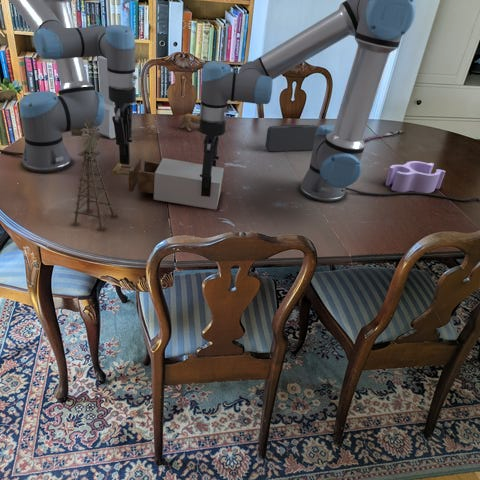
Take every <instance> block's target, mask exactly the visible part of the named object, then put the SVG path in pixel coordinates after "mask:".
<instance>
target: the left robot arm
mask: <svg viewBox="0 0 480 480" xmlns="http://www.w3.org/2000/svg"><path fill="white" fill-rule="evenodd" d="M9 1H10V3H11V4H12V6H13V7H14V9H16V11H17V12H18V13H19V15H20V16H21V18H22V19H23V20H24V22H25V23H26V24H27V26H28V27H29V28H30V30H31V31H32V32H33V35H32V40H33V45H34V49H35V50H36V54H37V56H38V57H39V58H41V59H43V60H53V61H55V65H56V68H57V69H56V70H57V73H58V77H59V81H60V86H59V88H58V90H57V92H58V94H57V93H56V92H54V91H49V90H46V91H44V90H41V91H35V92H31V93H28V94H26V95H24V96H23V97H21V99H20V100H19V103H18V104H19V116H20V119H21V125H22V132H23V137H24V148H23V152H15V151H14V152H13V151H7V150H3V149H0V153H3V154H7V155H13V156H22V158H21V161H22V166H23V168H24V169H25V170H27V171H29V172H33V173H39V174H46V173H56V172H61V171H63V170H66V169H67V168H69V167H70V166H71V163H72V159H71V155H70V153H69V151H68V150H67V149H68V148H67V147H66V145H65V143H64V140H63V133H67V132H71V127H73V128H77V129H80V130H81V131H82V130H83V128H85V129H86V130H88V129H89V127H90V122H91V126H92V127H93V128H95V127H96V126H97V124H98V123H99V125H101V124H102V122H103V120H104V116H105V104H104V100H103V97H102V95H101V94H100V91H97V90H95V87H94V85H93V84H92V83H90V82H89V80H88V76H87V72H86V68H85V64H84V60H83V58H92V57H98V56H103V57H104V58H106V59H107V74H108V84H109V85H110V86H109V87H108V91H109V99H110V100H111V101H112V102H114V103H115V104H116V105H115V108H114V113H115V116H113V117H112V120H113V123H114V129H115V144H116V146H118V151H119V152H118V154H119V155H118V156H119V163H120V164H122V165H126V166H130V164H131V163H130V162H131V155H130V152H131V151H130V143H133V139H131V138H132V124H133V111H134V110H133V108H134V105H133V104H131V103H135V101H136V100H137V89H136V80H138V75H136V40H135V31H134V29H133V28H132V27H131V26H128V25H123V24H110V25H107V26H104V25H102V24H97V23H94V24H90V25H88V26H87V27H84V26H83V27H76V26H75V22H74V17H73V12H72V9H71V3H72V2H73V0H9ZM92 116H93V120H92ZM89 117H90V118H89ZM94 118H95V121H94ZM87 119H88V123H89V126H88V123H87ZM96 120H97V122H96ZM93 122H94V125H95V123H96V125H95V127H94V125H93ZM85 123H86V125H87V127H88V129H87V128H86V126H85ZM99 125H98V126H99Z"/></svg>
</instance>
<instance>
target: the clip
mask: <svg viewBox="0 0 480 480" xmlns="http://www.w3.org/2000/svg"><path fill="white" fill-rule="evenodd" d="M434 165H435V163H434V162H429V163H428V162H424V161H417V160H411V161H406V163H405V164H392V165H390V166H389V170H388V174H387V177H386V181H385V186H387V187H389V186H390V185H392V186H391V191H393V192H421V193H429V194H432V193H434V191H435V190H440V188H441V185H442V183H443V180H444V178H445V175H446V172H447V171H446V170H443V169H439V168H435V169H436V170H435V172H434V173H432V171H433V168H434Z"/></svg>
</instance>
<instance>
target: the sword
mask: <svg viewBox="0 0 480 480" xmlns="http://www.w3.org/2000/svg"><path fill="white" fill-rule="evenodd" d="M399 131H400V132H401V133H400V134H403V133H405V131H404V132H402V131H403V130H399ZM398 134H399V133H398V131H389V132H387V133H384V134H378V135H375V136H370V137H367V138H364V139H362V140H363V142H364V143H365V142H367V141H370V140H375V139H379V138H383V137H388V136H395V135H398Z"/></svg>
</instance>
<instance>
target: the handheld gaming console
mask: <svg viewBox="0 0 480 480" xmlns="http://www.w3.org/2000/svg"><path fill="white" fill-rule="evenodd" d="M319 126H320V125H318V124H292V125H291V124H290V125H289V124H286V125H285V124H284V125H283V124H281V125H270V126H268V127H267V130H266V139H265V145H264V146H265V150H267V151H268V152H289V151H290V152H292V151H294V152H295V151H313V145H314V140H315V134H316V130H317V128H318V127H319Z"/></svg>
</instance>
